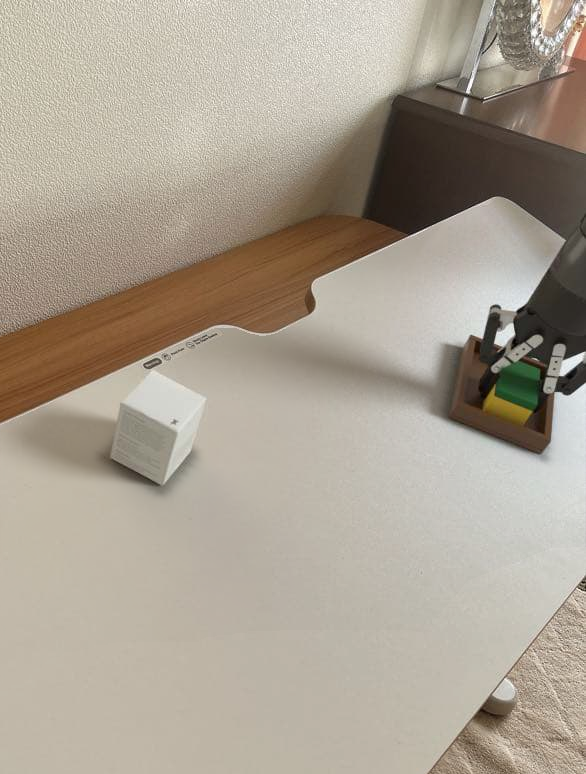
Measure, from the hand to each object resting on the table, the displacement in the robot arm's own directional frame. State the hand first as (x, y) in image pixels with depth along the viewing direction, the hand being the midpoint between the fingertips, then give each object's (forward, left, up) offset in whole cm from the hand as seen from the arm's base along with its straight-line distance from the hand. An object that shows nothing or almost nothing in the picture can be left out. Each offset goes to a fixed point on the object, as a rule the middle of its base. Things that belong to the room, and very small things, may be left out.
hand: (504, 401), depth 102 cm
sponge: (0, 0, -1) cm, 1 cm away
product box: (+41, +17, -1) cm, 44 cm away
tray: (-1, -2, -1) cm, 2 cm away
